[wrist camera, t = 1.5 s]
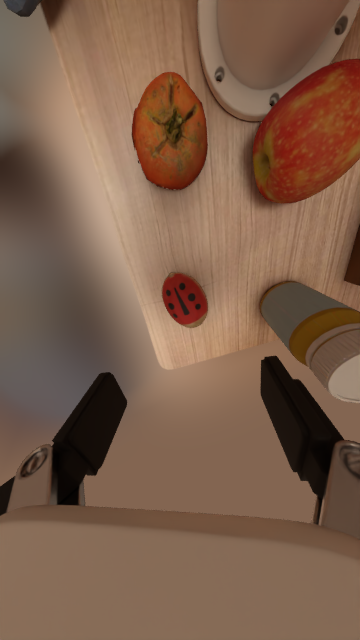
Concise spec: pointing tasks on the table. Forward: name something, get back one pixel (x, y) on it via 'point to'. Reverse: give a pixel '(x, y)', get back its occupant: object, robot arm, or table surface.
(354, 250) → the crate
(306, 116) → the apple
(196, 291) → the ladybug figurine
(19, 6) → the toy
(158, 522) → the robot arm
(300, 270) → the table surface
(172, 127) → the tomato
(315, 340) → the bottle
